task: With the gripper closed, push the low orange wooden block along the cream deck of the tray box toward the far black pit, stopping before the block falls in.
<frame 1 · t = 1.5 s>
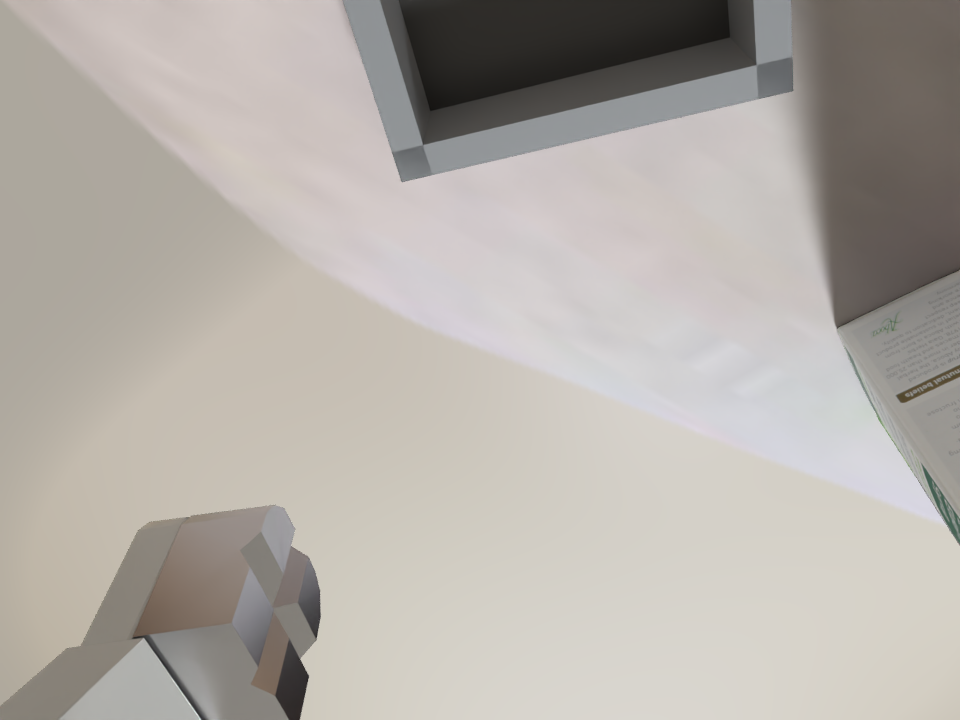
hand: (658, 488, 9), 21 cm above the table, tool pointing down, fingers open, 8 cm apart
syrup box: (923, 339, 33), on the table
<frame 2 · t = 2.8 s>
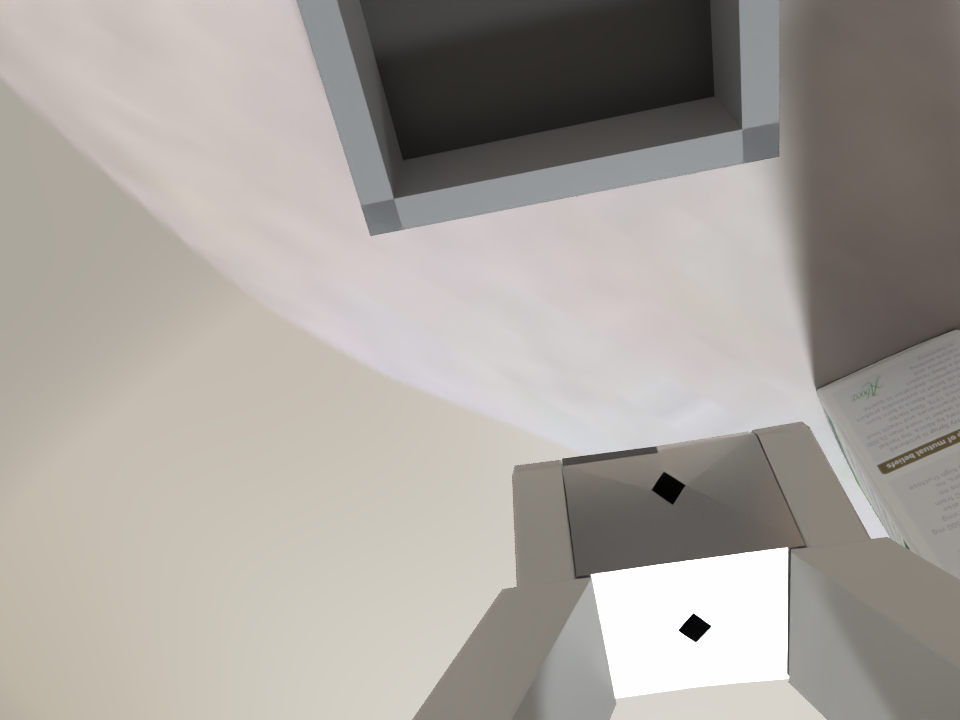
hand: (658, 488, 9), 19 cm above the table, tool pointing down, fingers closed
syrup box: (903, 402, 32), on the table
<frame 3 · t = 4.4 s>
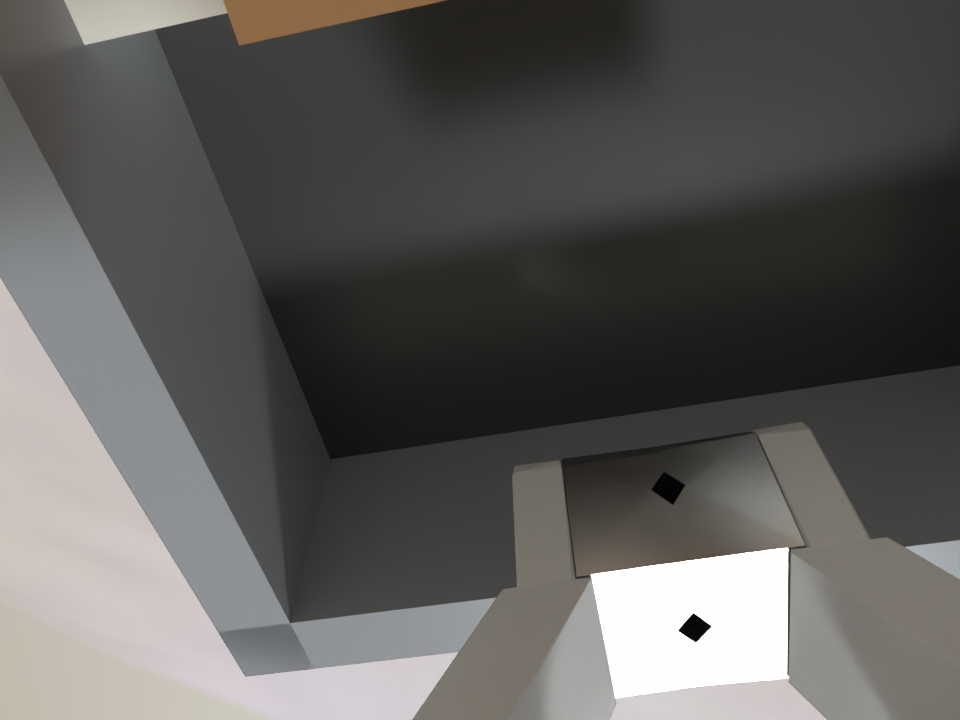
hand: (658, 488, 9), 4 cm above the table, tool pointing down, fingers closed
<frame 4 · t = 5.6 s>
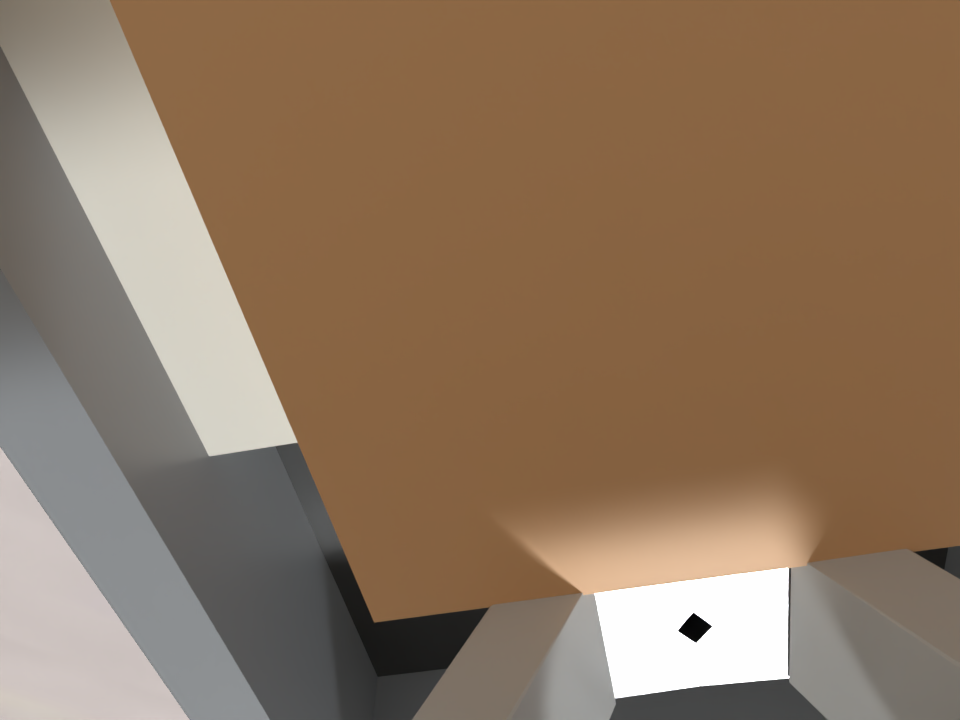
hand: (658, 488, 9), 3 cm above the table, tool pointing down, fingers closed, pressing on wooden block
wooden block: (586, 106, 7), point 2 cm above the table, touching gripper
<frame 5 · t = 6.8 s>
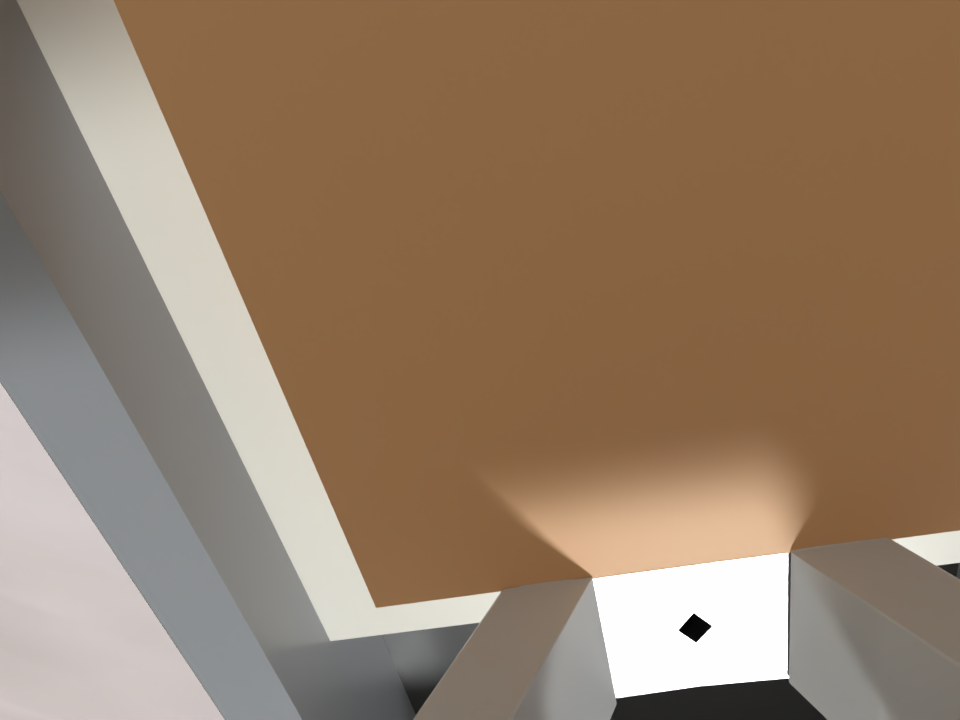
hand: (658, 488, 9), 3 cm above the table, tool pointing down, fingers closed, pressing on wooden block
tray box: (606, 184, 10), on the table
wooden block: (583, 102, 7), point 2 cm above the table, touching gripper, tray box
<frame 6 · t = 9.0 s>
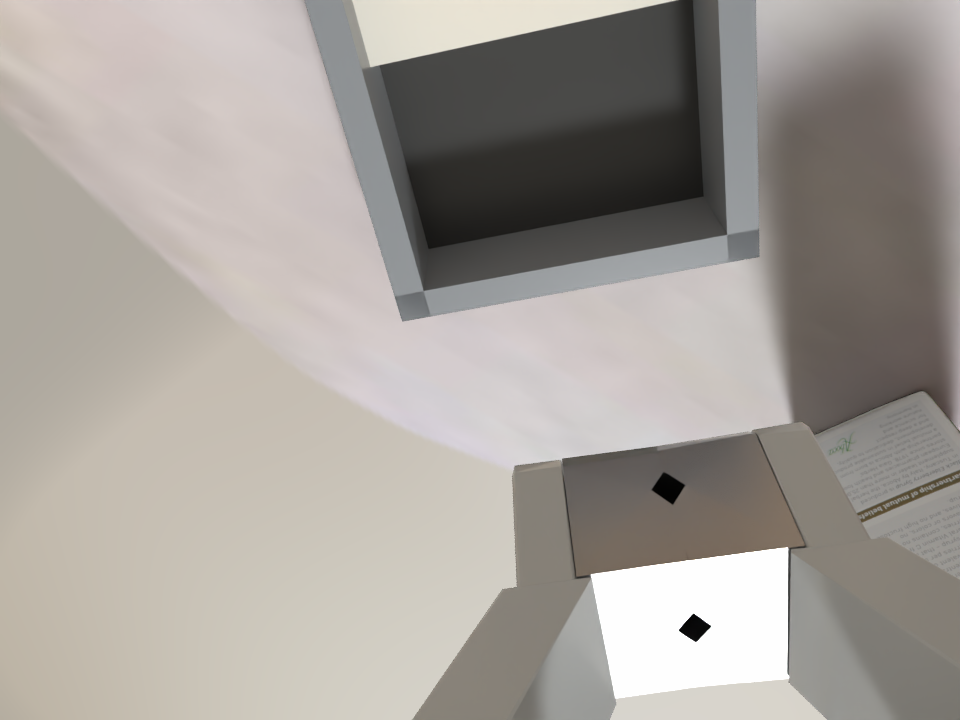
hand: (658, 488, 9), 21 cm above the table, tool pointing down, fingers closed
syrup box: (875, 453, 35), on the table
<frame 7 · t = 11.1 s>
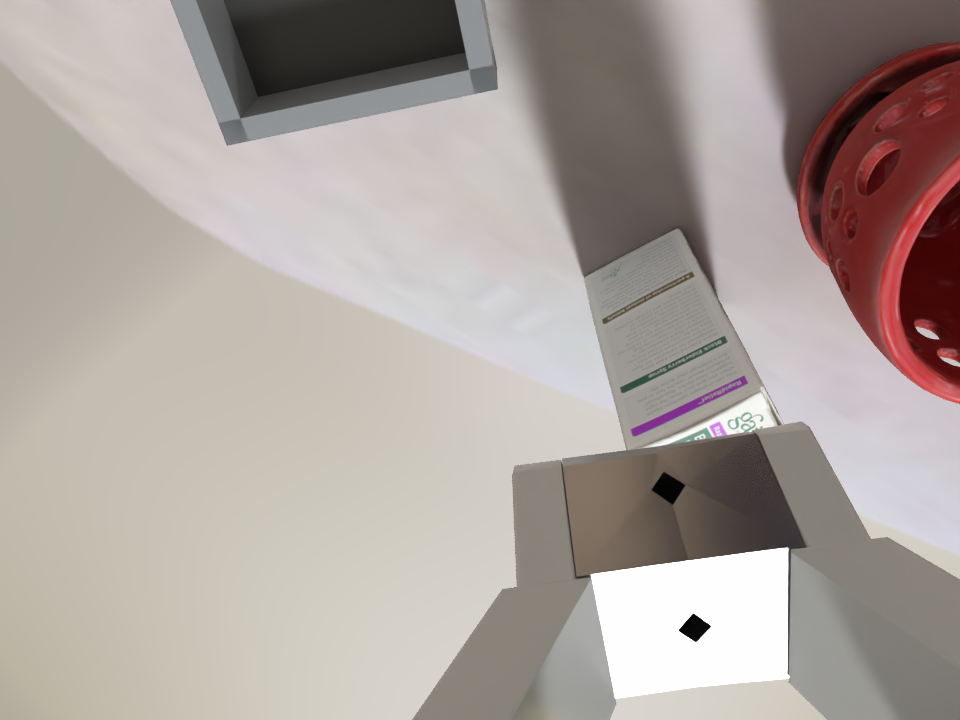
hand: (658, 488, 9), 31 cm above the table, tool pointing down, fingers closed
plant pot: (913, 152, 39), on the table
syrup box: (652, 288, 43), on the table
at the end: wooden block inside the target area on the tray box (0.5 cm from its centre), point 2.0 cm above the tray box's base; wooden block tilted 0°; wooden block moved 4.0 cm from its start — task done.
